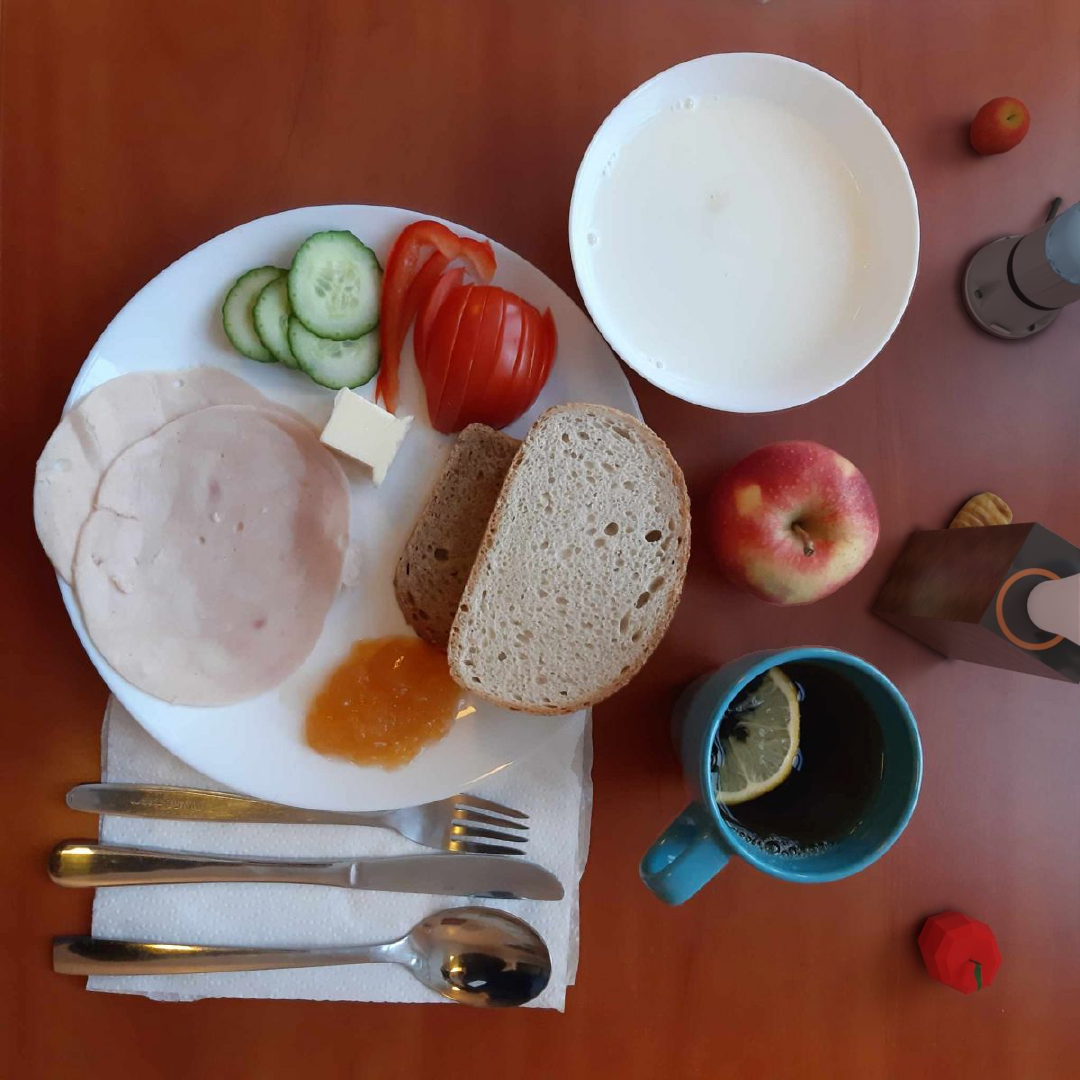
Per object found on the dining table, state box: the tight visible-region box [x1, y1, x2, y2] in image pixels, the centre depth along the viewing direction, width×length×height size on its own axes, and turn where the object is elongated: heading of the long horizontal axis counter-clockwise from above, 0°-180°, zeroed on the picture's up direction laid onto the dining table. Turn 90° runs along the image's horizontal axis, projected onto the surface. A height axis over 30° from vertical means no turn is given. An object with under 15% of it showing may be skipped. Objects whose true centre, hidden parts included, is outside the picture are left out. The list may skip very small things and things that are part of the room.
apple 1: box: [917, 909, 1003, 995], centre depth 122 cm, size 11×11×10 cm
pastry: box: [948, 491, 1013, 529], centre depth 127 cm, size 9×7×4 cm
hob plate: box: [979, 521, 1080, 686], centre depth 101 cm, size 14×14×1 cm
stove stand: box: [871, 521, 1077, 685], centre depth 115 cm, size 14×14×28 cm
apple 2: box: [969, 95, 1031, 156], centre depth 127 cm, size 8×8×8 cm
